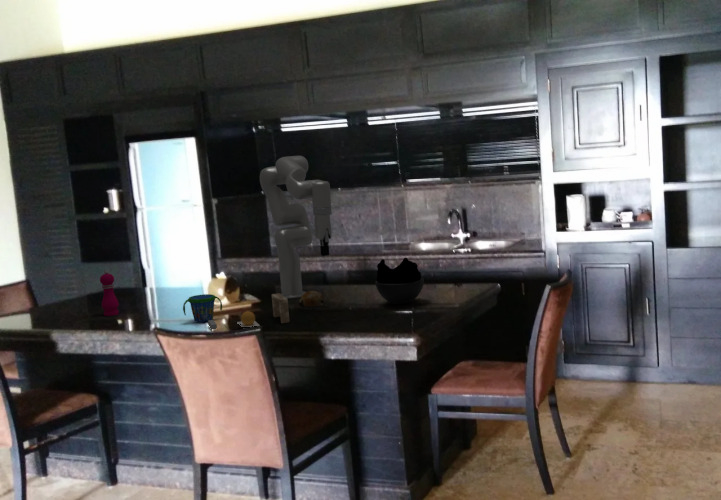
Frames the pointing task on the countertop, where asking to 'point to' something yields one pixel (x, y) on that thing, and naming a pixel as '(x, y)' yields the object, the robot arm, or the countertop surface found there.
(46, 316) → the countertop surface
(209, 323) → the stopper
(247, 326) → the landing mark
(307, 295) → the bread roll
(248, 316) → the ball
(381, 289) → the bowl of black rocks
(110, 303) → the pepper mill
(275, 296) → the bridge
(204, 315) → the snack cup
